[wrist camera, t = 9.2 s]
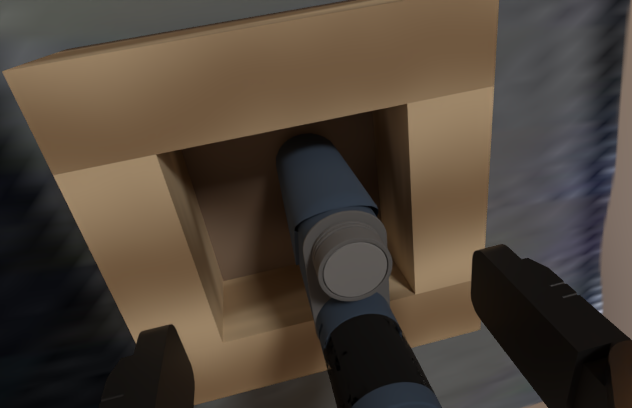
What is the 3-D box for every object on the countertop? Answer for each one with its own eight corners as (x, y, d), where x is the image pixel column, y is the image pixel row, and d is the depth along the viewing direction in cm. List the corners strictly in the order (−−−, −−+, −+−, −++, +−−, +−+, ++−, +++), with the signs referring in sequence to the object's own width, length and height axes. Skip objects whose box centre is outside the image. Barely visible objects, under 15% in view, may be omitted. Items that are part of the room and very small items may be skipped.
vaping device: (287, 240, 19) (359, 530, 9) (269, 133, 17) (337, 358, 6) (341, 229, 20) (471, 498, 9) (330, 122, 17) (490, 322, 7)
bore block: (67, 49, 15) (1, 71, 11) (427, -14, 17) (499, -17, 12) (181, 327, 22) (169, 411, 17) (432, 266, 23) (480, 329, 19)
